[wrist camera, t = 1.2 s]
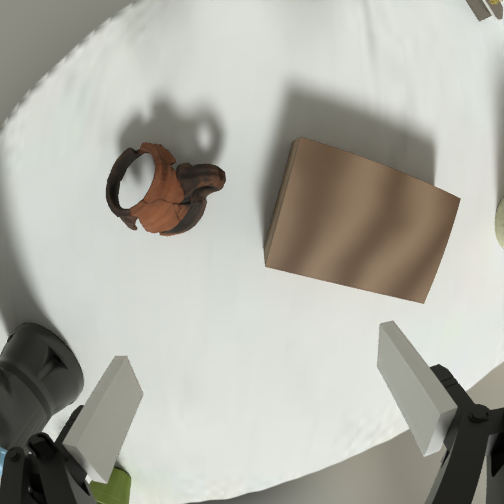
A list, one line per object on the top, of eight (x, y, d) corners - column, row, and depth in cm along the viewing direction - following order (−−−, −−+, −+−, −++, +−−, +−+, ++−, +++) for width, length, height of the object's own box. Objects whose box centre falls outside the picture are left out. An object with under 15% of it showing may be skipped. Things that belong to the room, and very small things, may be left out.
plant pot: (85, 464, 48) (69, 499, 37) (103, 452, 46) (86, 493, 35) (127, 490, 50) (116, 525, 40) (151, 480, 48) (140, 521, 37)
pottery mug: (153, 248, 34) (100, 239, 27) (148, 175, 36) (100, 152, 28) (248, 222, 30) (206, 200, 22) (234, 140, 32) (195, 102, 24)
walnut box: (263, 248, 34) (265, 266, 28) (292, 141, 30) (300, 137, 25) (401, 283, 35) (423, 303, 29) (432, 191, 32) (460, 198, 26)
